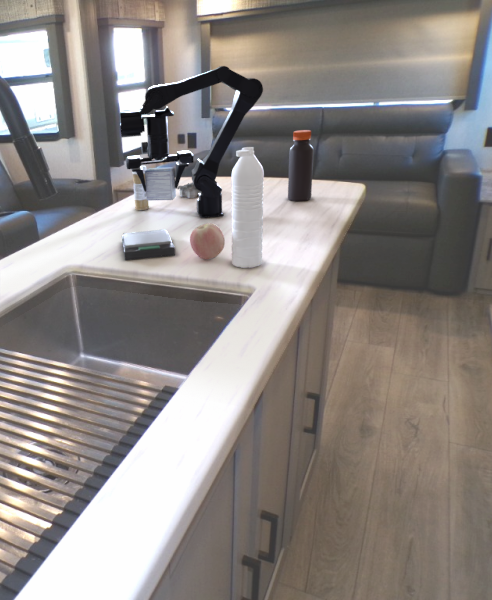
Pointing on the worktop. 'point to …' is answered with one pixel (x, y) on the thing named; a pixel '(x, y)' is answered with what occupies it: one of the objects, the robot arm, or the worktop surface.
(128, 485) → the worktop surface
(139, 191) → the sprinkles bottle
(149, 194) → the medicine box
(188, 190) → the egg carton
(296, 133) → the vinegar
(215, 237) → the apple
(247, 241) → the water bottle
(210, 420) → the worktop surface
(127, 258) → the kitchen scale
